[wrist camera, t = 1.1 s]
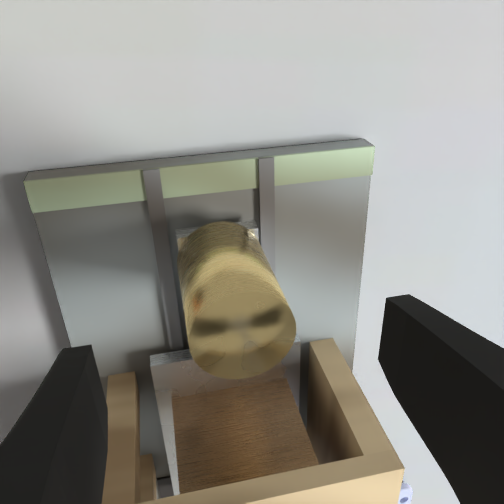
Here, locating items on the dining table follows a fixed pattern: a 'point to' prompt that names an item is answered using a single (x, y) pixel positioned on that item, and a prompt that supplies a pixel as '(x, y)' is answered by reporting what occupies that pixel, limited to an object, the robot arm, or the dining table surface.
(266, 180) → the track
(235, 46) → the dining table surface
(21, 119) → the dining table surface
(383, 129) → the dining table surface
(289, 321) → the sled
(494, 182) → the dining table surface
